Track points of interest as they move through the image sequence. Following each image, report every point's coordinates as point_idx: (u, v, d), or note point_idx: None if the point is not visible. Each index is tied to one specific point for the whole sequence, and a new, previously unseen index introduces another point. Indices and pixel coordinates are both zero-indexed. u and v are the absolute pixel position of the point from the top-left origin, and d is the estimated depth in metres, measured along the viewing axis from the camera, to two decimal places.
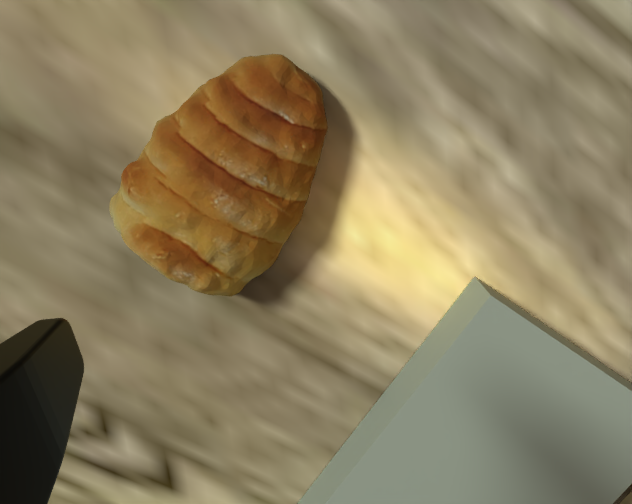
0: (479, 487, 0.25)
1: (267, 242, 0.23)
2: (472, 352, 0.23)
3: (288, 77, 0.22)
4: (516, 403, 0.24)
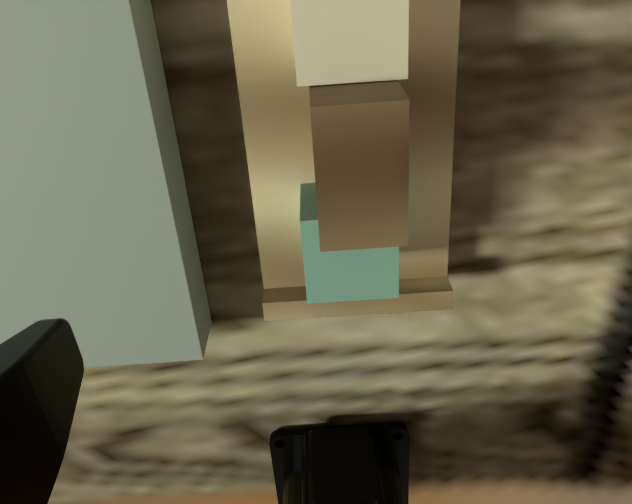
0: None
1: None
2: None
3: None
4: None
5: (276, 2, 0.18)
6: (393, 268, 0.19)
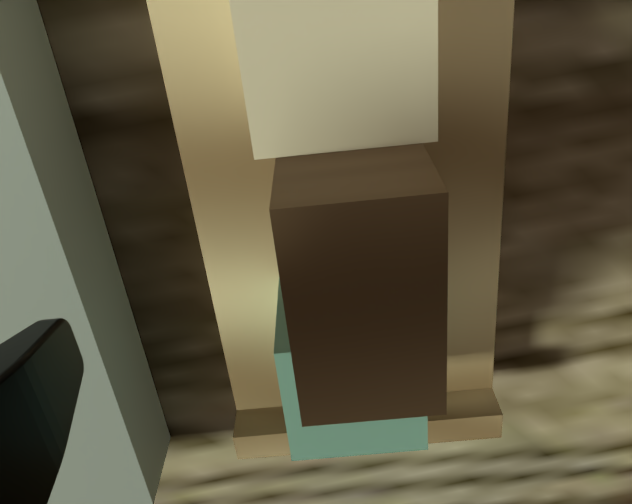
0: None
1: None
2: None
3: None
4: None
5: (227, 17, 0.12)
6: None
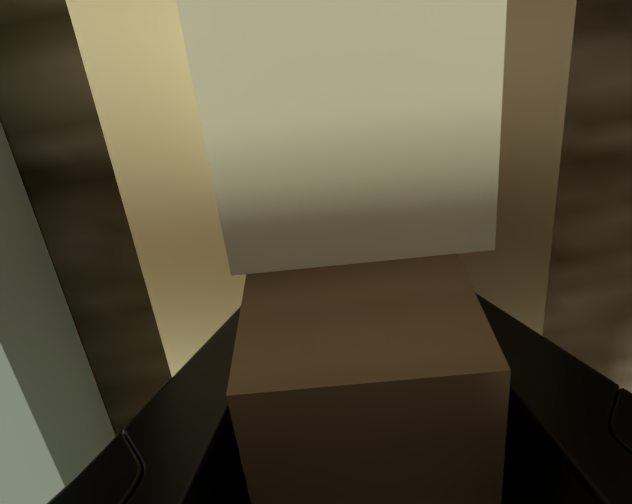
0: None
1: None
2: None
3: None
4: None
5: (187, 61, 0.09)
6: None
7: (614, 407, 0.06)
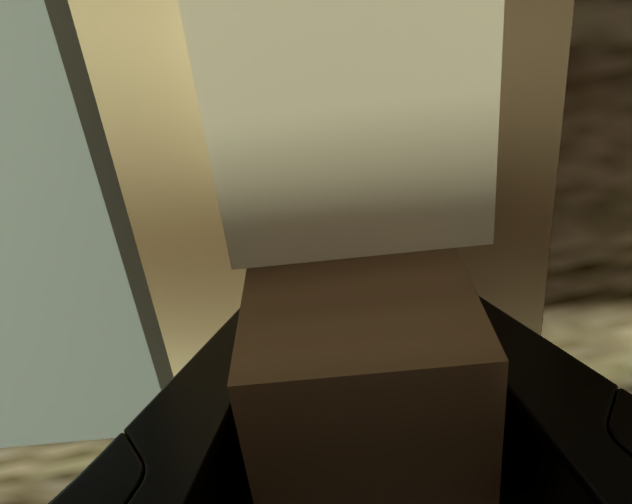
0: None
1: None
2: None
3: None
4: None
5: (187, 58, 0.09)
6: None
7: (613, 407, 0.06)
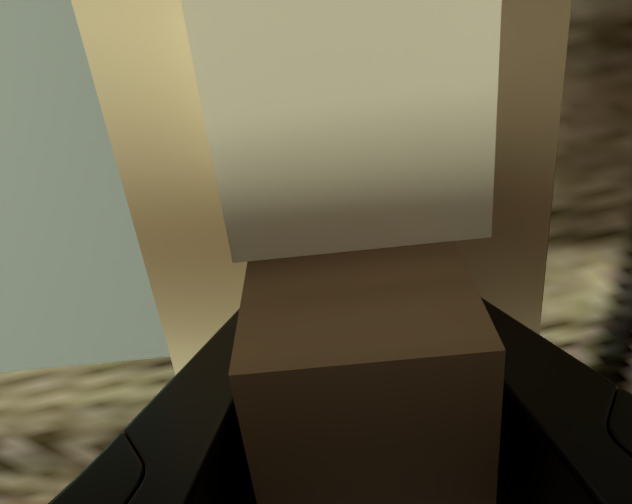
0: None
1: None
2: None
3: None
4: None
5: (188, 55, 0.09)
6: None
7: (613, 407, 0.06)
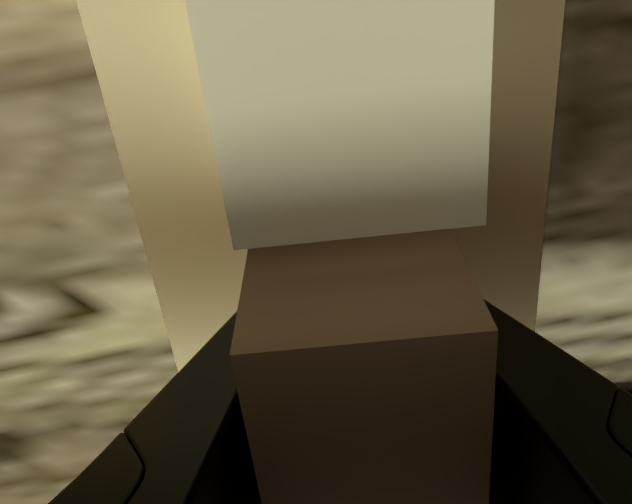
0: None
1: None
2: None
3: None
4: None
5: (190, 49, 0.09)
6: None
7: (612, 406, 0.06)
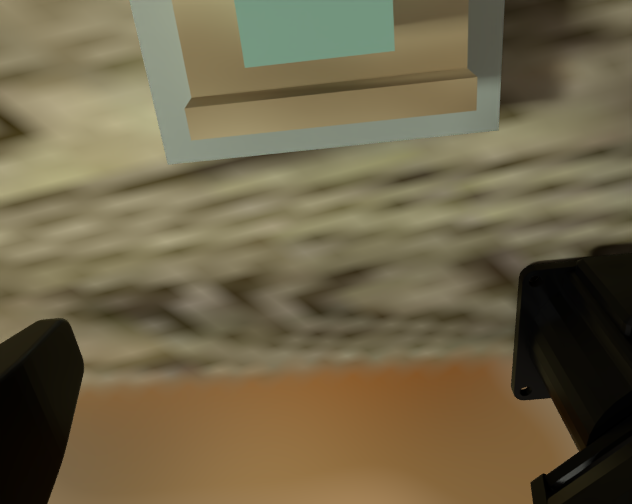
0: None
1: None
2: None
3: None
4: None
5: None
6: None
7: None
